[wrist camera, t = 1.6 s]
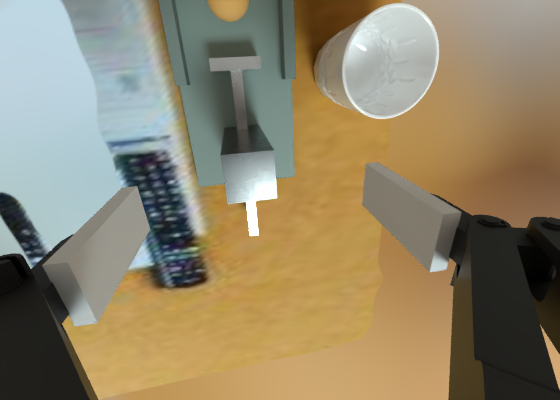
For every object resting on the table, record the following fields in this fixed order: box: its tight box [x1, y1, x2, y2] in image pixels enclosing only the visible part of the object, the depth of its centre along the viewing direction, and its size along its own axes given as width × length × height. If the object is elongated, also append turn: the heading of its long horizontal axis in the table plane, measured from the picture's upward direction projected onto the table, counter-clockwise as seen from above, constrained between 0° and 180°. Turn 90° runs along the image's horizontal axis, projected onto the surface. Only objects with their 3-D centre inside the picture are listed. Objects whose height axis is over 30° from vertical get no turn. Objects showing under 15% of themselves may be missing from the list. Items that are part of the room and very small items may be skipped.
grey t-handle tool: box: [209, 56, 277, 236], centre depth 24 cm, size 4×18×11 cm, turn 3°
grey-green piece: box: [158, 0, 296, 187], centre depth 24 cm, size 11×30×6 cm, turn 3°
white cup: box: [314, 3, 439, 119], centre depth 25 cm, size 8×8×10 cm
